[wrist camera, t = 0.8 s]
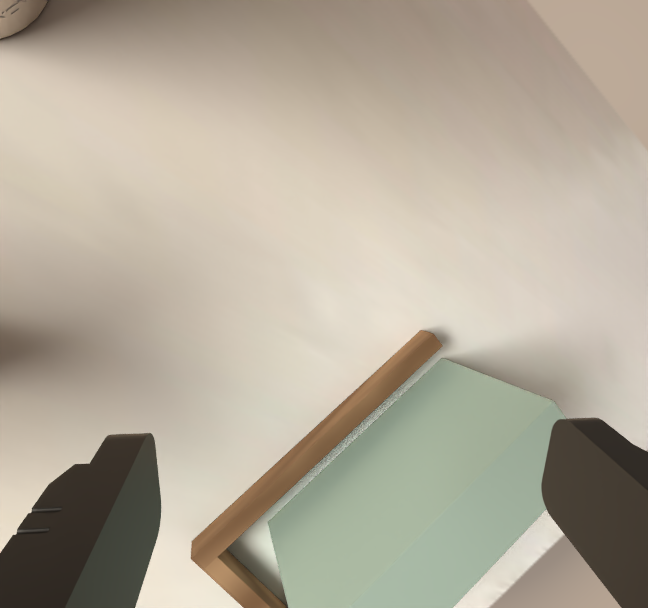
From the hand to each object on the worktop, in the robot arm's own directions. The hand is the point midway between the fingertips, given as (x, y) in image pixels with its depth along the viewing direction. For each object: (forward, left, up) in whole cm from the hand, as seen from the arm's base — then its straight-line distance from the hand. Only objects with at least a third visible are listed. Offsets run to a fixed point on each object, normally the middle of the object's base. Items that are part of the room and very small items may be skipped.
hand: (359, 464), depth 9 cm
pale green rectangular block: (+14, +1, -24) cm, 28 cm away
